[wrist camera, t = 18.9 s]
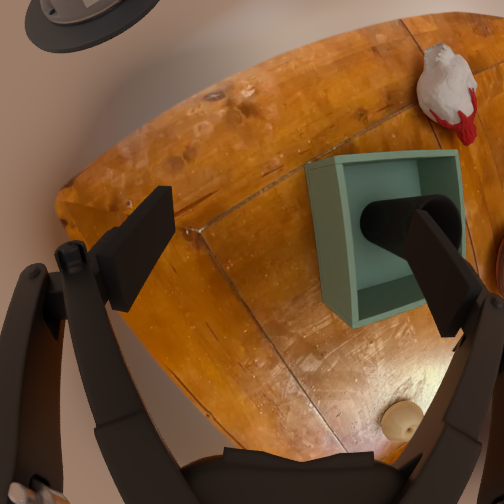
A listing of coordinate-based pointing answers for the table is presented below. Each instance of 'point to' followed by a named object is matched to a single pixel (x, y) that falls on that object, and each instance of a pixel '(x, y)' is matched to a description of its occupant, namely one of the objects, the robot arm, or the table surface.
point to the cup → (408, 220)
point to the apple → (401, 421)
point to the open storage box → (351, 238)
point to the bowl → (500, 268)
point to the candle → (448, 92)
